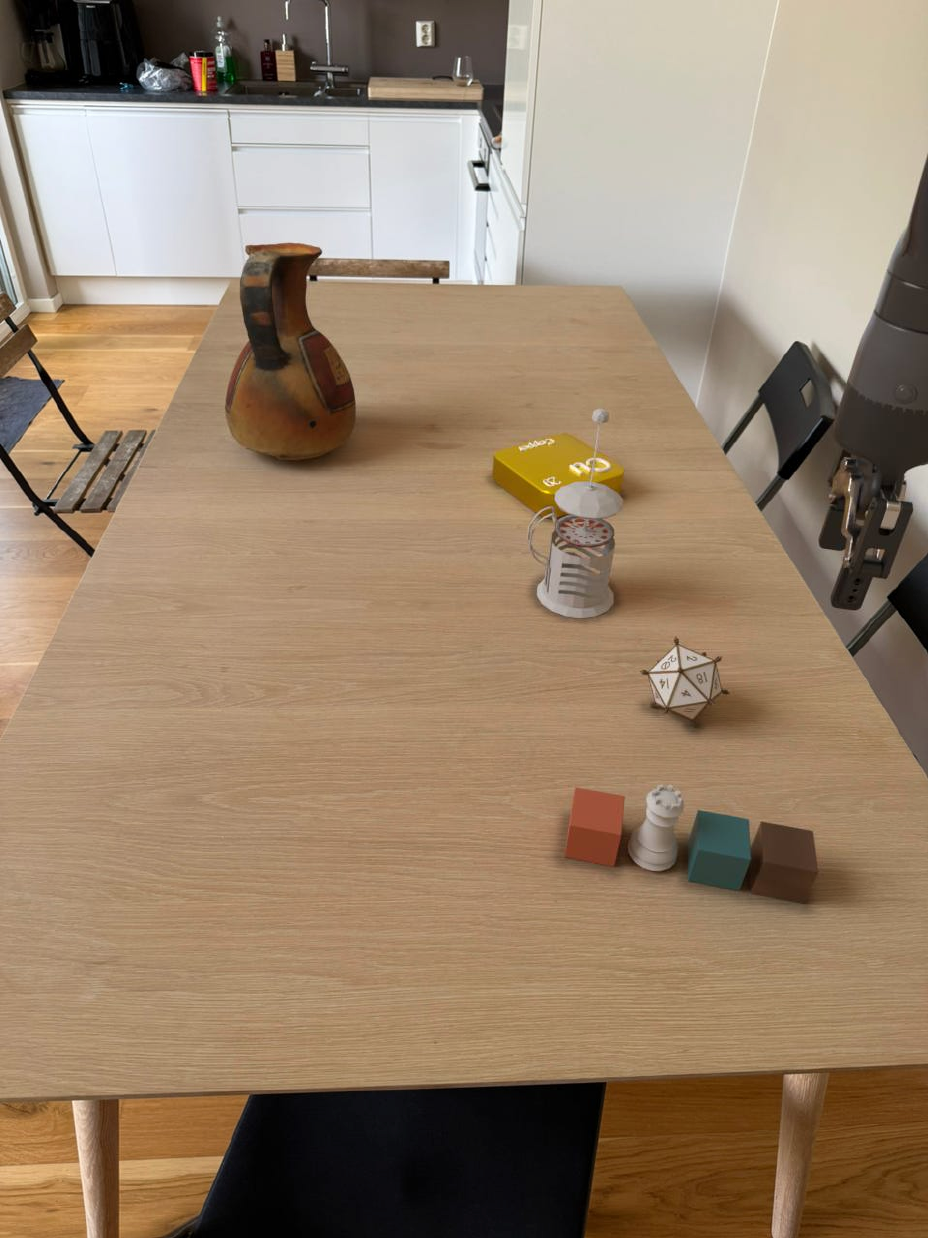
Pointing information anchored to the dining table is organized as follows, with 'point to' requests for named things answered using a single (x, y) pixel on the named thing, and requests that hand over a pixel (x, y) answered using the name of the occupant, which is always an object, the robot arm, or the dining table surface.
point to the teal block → (719, 850)
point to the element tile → (551, 470)
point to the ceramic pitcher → (286, 363)
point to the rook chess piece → (657, 830)
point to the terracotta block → (595, 827)
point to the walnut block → (783, 862)
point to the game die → (685, 682)
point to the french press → (580, 547)
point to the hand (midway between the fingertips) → (837, 575)
